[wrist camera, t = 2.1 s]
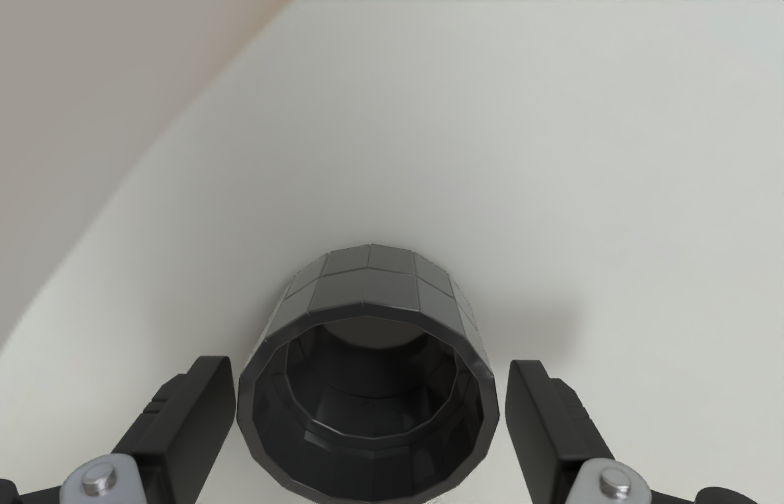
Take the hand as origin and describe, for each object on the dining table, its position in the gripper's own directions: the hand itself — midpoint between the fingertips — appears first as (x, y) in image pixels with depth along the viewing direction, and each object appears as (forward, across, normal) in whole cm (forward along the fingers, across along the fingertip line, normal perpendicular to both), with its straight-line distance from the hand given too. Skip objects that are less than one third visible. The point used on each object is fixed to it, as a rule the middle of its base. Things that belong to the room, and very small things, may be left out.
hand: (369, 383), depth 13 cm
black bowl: (+2, 0, 0) cm, 2 cm away
